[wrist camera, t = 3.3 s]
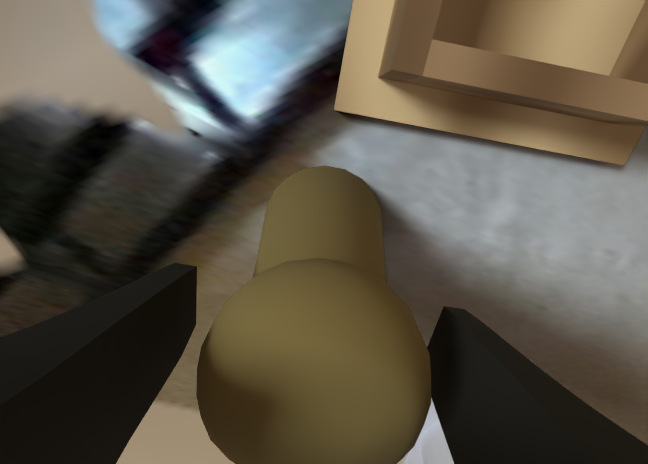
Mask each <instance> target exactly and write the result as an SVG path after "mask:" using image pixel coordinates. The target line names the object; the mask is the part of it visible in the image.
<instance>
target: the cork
mask: <svg viewBox="0 0 648 464" xmlns="http://www.w3.org/2000/svg"><path fill="white" fill-rule="evenodd" d="M197 400H198V405H199V410H200V415H201V418H202V420H203V423H204V425H205V428H206V430H207V432H208V435H209V437H210V440H211V441H212V442H213V443H214V444H215V445H216V446H217V447H218V448H219V449H220V450H221V451H222V452H223V454H224V455H225V456H226V457H227V458H228V459H229V460H231V461H232V462H234V463H235V464H397V463H398V462H399V461H400V460H401V459H402V458H403V457H404V456H405V455H406V454H407V453H408V452H409V451H410V450H411V449H412V448H413V447H414V446H415V443H416V441H417V439H418V437H419V435H420V433H421V430H422V428H423V426H424V424H425V421H426V418H427V415H428V411H429V408H430V405H431V367H430V354H429V352H428V349H427V347H426V345H425V342H424V340H423V337H422V335H421V333H420V331H419V328H418V326H417V324H416V322H415V319H414V317H413V315H412V313H411V311H410V309H409V308H408V307H407V306H406V305H405V303H404V302H403V301H402V300H401V299H400V298H399V297H398V296H397V295H396V294H395V293H394V292H393V291H392V290H391V289H390V288H389V287H388V286H387V279H386V266H385V253H384V239H383V226H382V213H381V208H380V205H379V203H378V201H377V198H376V196H375V193H374V192H373V191H372V190H371V189H370V188H369V186H368V185H367V184H366V183H365V182H364V181H363V180H362V179H361V178H359V177H357V176H356V175H354V174H352V173H350V172H348V171H347V170H345V169H340V168H334V167H329V166H319V167H311V168H305V169H303V170H301V171H299V172H297V173H295V174H293V175H291V176H288V177H287V178H286V179H285V180H284V181H283V182H282V183H281V184H280V185H279V186H278V187H277V188H276V189H275V190H274V193H273V195H272V197H271V199H270V201H269V203H268V205H267V208H266V213H265V219H264V224H263V229H262V234H261V239H260V244H259V249H258V254H257V260H256V265H255V270H254V275H253V278H252V279H251V280H250V281H249V282H247V283H246V284H245V285H244V286H243V287H242V288H241V289H240V290H239V291H237V292H236V293H235V294H234V295H233V296H232V297H231V298H230V299H228V300H227V301H226V302H225V303H224V304H223V306H222V308H221V310H220V311H219V313H218V315H217V317H216V319H215V320H214V322H213V324H212V326H211V328H210V330H209V332H208V334H207V336H206V338H205V340H204V342H203V344H202V347H201V352H200V357H199V362H198V367H197Z"/></svg>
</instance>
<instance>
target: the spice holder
mask: <svg viewBox="0 0 648 464" xmlns="http://www.w3.org/2000/svg"><path fill="white" fill-rule="evenodd" d="M334 110H337V111H342V112H348V113H353V114H358V115H363V116H368V117H374V118H379V119H384V120H389V121H395V122H400V123H405V124H410V125H415V126H421V127H426V128H431V129H436V130H442V131H447V132H452V133H457V134H462V135H468V136H473V137H478V138H483V139H489V140H494V141H499V142H504V143H509V144H515V145H520V146H525V147H530V148H536V149H541V150H546V151H551V152H556V153H562V154H567V155H572V156H577V157H583V158H588V159H593V160H598V161H603V162H609V163H614V164H619V165H625V163H626V161H627V159H628V158H629V156H630V154H631V152H632V150H633V149H634V147H635V145H636V143H637V141H638V140H639V138H640V136H641V134H642V133H643V131H644V129H645V127H646V126H648V0H353V5H352V10H351V16H350V22H349V27H348V33H347V39H346V44H345V50H344V56H343V61H342V67H341V73H340V78H339V84H338V90H337V95H336V101H335V107H334Z"/></svg>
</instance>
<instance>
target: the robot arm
mask: <svg viewBox="0 0 648 464" xmlns="http://www.w3.org/2000/svg"><path fill="white" fill-rule="evenodd" d="M196 287H197V266H190V265H184V264H178V263H174V264H171V265H169V266H166V267H164V268H162V269H160V270H157V271H155V272H153V273H151V274H149V275H147V276H145V277H143V278H140V279H138V280H136V281H134V282H132V283H130V284H128V285H126V286H123V287H121V288H119V289H117V290H115V291H113V292H111V293H108V294H106V295H104V296H102V297H100V298H97V299H95V300H93V301H90V302H88V303H86V304H83V305H81V306H79V307H76V308H74V309H72V310H69V311H67V312H65V313H62V314H60V315H57V316H55V317H53V318H50V319H48V320H45V321H43V322H40V323H38V324H35V325H33V326H30V327H27V328H25V329H22V330H19V331H17V332H14V333H11V334H8V335H6V336H3V337H0V464H116V462H117V461H118V459H119V457H120V455H121V454H122V452H123V450H124V448H125V447H126V445H127V443H128V441H129V440H130V438H131V437H132V435H133V433H134V432H135V430H136V429H137V427H138V425H139V424H140V422H141V420H142V418H143V417H144V416H145V414H146V413H147V411H148V409H149V408H150V406H151V405H152V403H153V401H154V400H155V398H156V397H157V395H158V393H159V392H160V390H161V389H162V387H163V385H164V384H165V382H166V380H167V379H168V377H169V376H170V374H171V372H172V371H173V369H174V367H175V366H176V364H177V362H178V361H179V359H180V358H181V356H182V354H183V351H184V349H185V347H186V345H187V343H188V341H189V339H190V336H191V334H192V332H193V330H194V328H195V325H196ZM427 349H428V352H429V354H430V367H431V405H430V408H429V411H428V415H427V418H426V421H425V424H424V426H423V428H422V430H421V433H420V435H419V437H418V439H417V441H416V443H415V446H414V447H413V448H412V449H411V450H410V451H409V452H408V453H407V454H406V455H405V456H404V459H403V461H402V464H648V445H646V444H645V443H643V442H642V441H640V440H639V439H637V438H636V437H634V436H633V435H631V434H630V433H628V432H627V431H625V430H624V429H622V428H621V427H619V426H618V425H616V424H615V423H613V422H612V421H610V420H609V419H608V418H606V417H605V416H603V415H602V414H600V413H599V412H598V411H596V410H595V409H593V408H592V407H590V406H589V405H588V404H586V403H585V402H584V401H582V400H581V399H579V398H578V397H577V396H575V395H574V394H573V393H571V392H570V391H569V390H567V389H566V388H565V387H563V386H562V385H561V384H559V383H558V382H557V381H555V380H554V379H553V378H551V377H550V376H549V375H548V374H546V373H545V372H544V371H542V370H541V369H540V368H539V367H537V366H536V365H535V364H533V363H532V362H531V361H530V360H528V359H527V358H526V357H525V356H523V355H522V354H521V353H520V352H518V351H517V350H516V349H515V348H513V347H512V346H511V345H510V344H509V343H507V342H506V341H505V340H504V339H502V338H501V337H500V336H499V335H497V334H496V333H495V332H494V331H492V330H491V329H490V328H489V327H487V326H486V325H485V324H484V323H482V322H481V321H480V320H478V319H477V318H476V317H474V316H473V315H472V314H470V313H469V312H467V311H466V310H464V309H458V308H452V307H446V306H444V307H443V310H442V312H441V315H440V317H439V320H438V322H437V325H436V327H435V330H434V332H433V335H432V337H431V340H430V342H429V345H428V347H427Z"/></svg>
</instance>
